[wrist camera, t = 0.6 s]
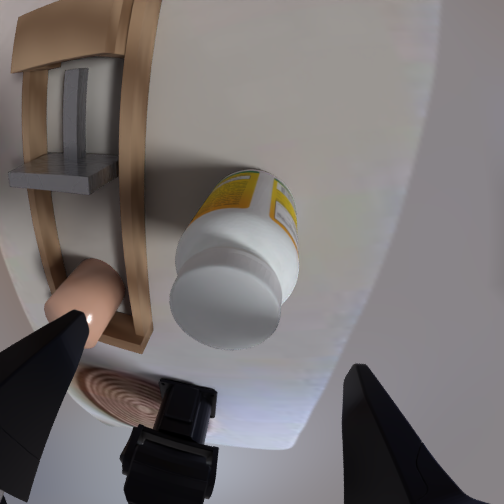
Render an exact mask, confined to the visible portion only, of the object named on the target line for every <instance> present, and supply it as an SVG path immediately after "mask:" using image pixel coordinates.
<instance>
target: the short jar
mask: <svg viewBox="0 0 504 504" xmlns="http://www.w3.org/2000/svg"><path fill="white" fill-rule="evenodd" d="M124 298H125V286H124V283H123V281H122V279H121V277H120V276H119V274H118V273H117V272H116V271H115V270H114V269H113V268H112V267H111V266H110V265H108V264H107V263H105V262H103V261H101V260H98V259H94V258H90V259H85V260H84V261H82V262H81V263H80V264H79V265H78V267H77V268H76V269H75V270H74V271H73V272H72V273H71V274H70V275H69V276H68V277H67V279H66V280H65V281H64V282H63V283H62V284H61V285H60V286H59V288H58V289H57V290H56V291H55V292H54V293H53V295H52V296H51V297H50V298H49V299H48V300H47V302H46V303H45V306H44V311H45V315H46V318H47V320H48V322H49V323H50V322H52V321H54V320H55V319H57V318H59V317H61V316H62V315H64V314H66V313H68V312H69V311H71V310H74V309H75V310H79V311H82V312H84V314H85V316H86V319H87V322H88V326H89V336H88V339H87V341H86V344H85V347H84V349H89V348H93V347H94V346H95V345H96V343H97V342H98V340H99V338H100V337H101V335H102V333H103V332H104V330H105V328H106V327H107V325H108V323H109V322H110V320H111V319H112V317H113V315H114V314H115V312H116V311H117V309H118V307H119V306H120V304H121V303H122V301H123V300H124Z"/></svg>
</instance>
